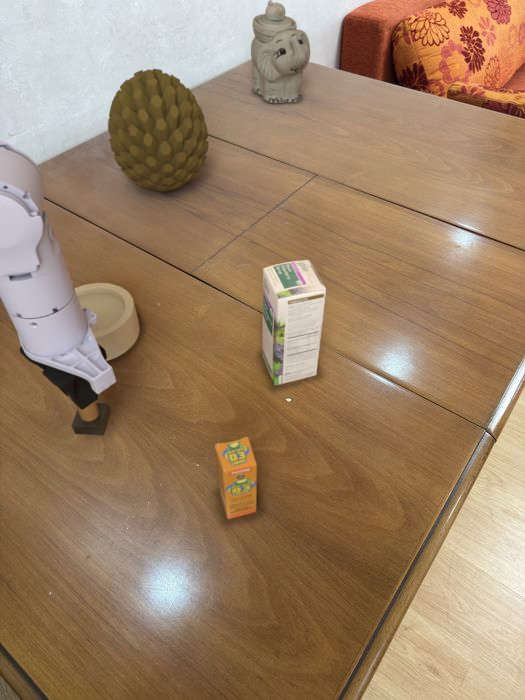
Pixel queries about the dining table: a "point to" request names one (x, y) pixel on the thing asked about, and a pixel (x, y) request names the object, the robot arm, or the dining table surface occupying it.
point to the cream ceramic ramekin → (111, 316)
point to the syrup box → (292, 320)
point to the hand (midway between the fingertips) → (81, 396)
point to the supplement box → (237, 477)
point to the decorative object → (157, 131)
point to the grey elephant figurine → (278, 55)
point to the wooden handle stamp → (92, 419)
